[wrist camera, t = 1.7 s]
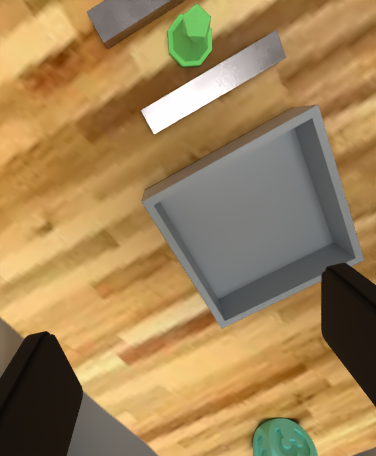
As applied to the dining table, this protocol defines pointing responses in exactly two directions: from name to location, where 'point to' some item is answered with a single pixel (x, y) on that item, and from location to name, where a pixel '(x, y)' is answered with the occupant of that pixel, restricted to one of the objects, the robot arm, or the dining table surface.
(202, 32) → the game piece
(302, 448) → the decorative dice
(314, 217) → the bin
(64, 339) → the dining table surface
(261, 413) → the dining table surface
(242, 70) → the slot holder
